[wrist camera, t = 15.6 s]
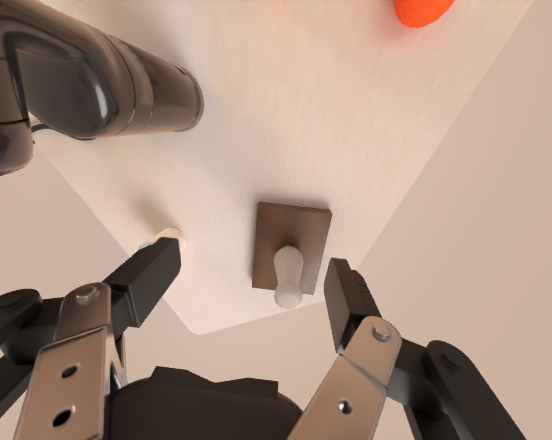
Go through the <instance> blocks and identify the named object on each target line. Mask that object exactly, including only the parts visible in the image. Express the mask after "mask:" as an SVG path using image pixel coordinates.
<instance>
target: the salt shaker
mask: <svg viewBox="0 0 552 440" xmlns="http://www.w3.org/2000/svg"><path fill="white" fill-rule="evenodd" d="M303 262H304V261H303V257H302V254H301V253H300V252H299V251H298V250H297V249H296V248H295V247H292V246H287V245H286V246H285V247H283V248H281V249H280V250H279V251H278V252H277V253H276V254H275V257H274V265H275V270H276V275H277V281H278V286H277V287H276V290H275V294H274V297H275V301H276V303H277V304H278V305H279V306H280V307H282V308H284V309H292V308H296V307H297V306H298V305H299V304H300V303H301V300H302V293H301V289H300V287H299V282H300V277H301V272H302V267H303Z"/></svg>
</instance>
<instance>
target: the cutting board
mask: <svg viewBox="0 0 552 440" xmlns="http://www.w3.org/2000/svg"><path fill="white" fill-rule="evenodd" d="M331 218H332V213H331V211H330V210H323V209H315V208H306V207H298V206H289V205H281V204H273V203H264V202H259V204H258V211H257V224H256V238H255V251H254V265H253V279H252V287H253V288H261V289H269V290H276V287H277V286H278V281H277V275H276V270H275V265H274V257H275V254H276V253H277V252H278V251H279V250H280V249H281V248H283V247H285V246H286V245H287V246H292V247H295V248H296V249H297V250H298V251H299V252H300V253H301V254H302V257H303V261H304V262H303V267H302V272H301V277H300V282H299V287H300V289H301V293H302V294H310V295H313V294H314V290H315V285H316V281H317V277H318V273H319V268H320V264H321V260H322V256H323V251H324V247H325V243H326V239H327V235H328V230H329V226H330V222H331Z"/></svg>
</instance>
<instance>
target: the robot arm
mask: <svg viewBox="0 0 552 440" xmlns="http://www.w3.org/2000/svg"><path fill="white" fill-rule="evenodd" d="M169 62H170V61H169ZM171 63H172V62H171ZM172 64H174V63H172ZM172 64H170V63H168V62H166V61H164V60H162V59H160V58H158V57H156V56H153V55H151V54H149V53H147V52H145V51H143V50H141V49H139V48H137V47H134V46H132V45H130V44H128V43H126V42H124V41H122V40H120V39H118V38H115V37H113V36H111V35H109V34H107V33H105V32H102V31H100V30H98V29H96V28H94V27H92V26H90V25H88V24H86V23H84V22H82V21H80V20H77V19H75V18H73V17H71V16H69V15H66V14H64V13H62V12H60V11H58V10H56V9H54V8H52V7H50V6H47V5H45V4H43V3H41V2H39V1H37V0H0V176H2V175H5V174H8V173H12V172H14V171H18V170H20V169H22V168H23V167H25V166H26V165H27V164H28V163H29V162H30V161H31V159H32V157H33V144H35V142H34V140H33V139H32V133H33V132H35V131H37V130H40V129H53V130H56V131H58V132H60V133H62V134H65V135H67V136H70V137H72V138H75V139H78V140H84V141H86V140H93V139H96V138H103V137H114V136H125V135H134V134H146V133H157V132H168V131H185V130H189V129H191V128H192V127H194V126H195V125H196V124H197V123H198V122H199V120H200V118H201V116H202V113H203V96H202V92H201V89H200V87H199V85H198V83H197V82H196V80H195V79H194V78H193V77H192V76H191V75H190V74H189V73H188V72H187V71H185V70H184V69H182V68H180V67H178V66H177V65H175V64H174V65H172ZM28 111H29V112H30V113H31V114H32V115H34V116H35V117H36V118H37V119H38V120H40V121H41V122H42V123H44V124H39V125H35V126H32V127H31V126H30V119H29V117H28ZM180 268H181V258H180V248H179V241H178V239H177V238H169V237H160V238H159V239H158V240H157V241H156V242H155V243H153V244H152V245H148V246H146V247H144V248H142V249H140V250H138V251H137V252H136V253H135V254H134V255H132V257H131V258H129V259H128V260H127V261H125V263H123V264H122V265H121V266H120V267H119V268H117V269H116V270H115V271H114V272H113V273H111V274H110V275H109V276H108V277H107V278H106V279H104V280H103V281H102V282H97V283H90V284H86V285H83V286H81V287H78V288H76V289H75V290H73V291H71V292H70V293H69V294H67V295H66V296H65V297H61V298H51V299H43V300H42V298H41V296H40V294H39V292H38V291H37V290H35V289H21V290H16V291H12V292H9V293H6V294H3V295H1V296H0V349H1V350H2V352H3V353H4V356H3V357H1V358H0V418H1V416H3V415H4V413H5V412H6V411H7V410H8V409H9V408H10V407H11V406H12V405H13V404H14V403H15V402H16V400H17V399H18V398H19V397H20V396H21V395H22V394H23V393H24V392H25V391H26V389H27V392H26V396H25V399H24V403H23V406H22V410H21V413H20V416H19V420H18V423H17V427H16V430H15V434H14V437H13V440H373V437H374V434H375V431H376V427H377V425H378V422H379V418H380V415H381V412H382V409H383V406H384V403H385V400H386V397H389V398H391V399H393V400H395V401H397V402H400V403H401V404H403V407H404V410H405V413H406V416H407V419H408V422H409V425H410V428H411V430H412V433H413V436H414V439H415V440H526V438H525V437H524V435H523V434H522V432H521V431H520V430H519V428H518V427H517V425H516V424H515V422H514V421H513V420H512V418H511V417H510V415H509V414H508V412H507V411H506V410H505V408H504V407H503V405H502V404H501V403H500V401H499V400H498V398H497V397H496V395H495V394H494V392H493V391H492V390H491V388H490V387H489V385H488V384H487V382H486V381H485V380H484V378H483V377H482V375H481V374H480V372H479V371H478V370H477V368H476V367H475V365H474V364H473V363H472V361H471V360H470V359H469V358H468V357H467V356H466V355H465V354H464V353H463V352H462V351H460V350H459V349H458V348H456V347H454V346H453V345H451V344H449V343H446V342H444V341H439V340H433V341H431V342H429V344H428V345H427V347H423V346H421V345H419V344H416V343H413V342H411V341H408V340H406V339H404V338H402V337H401V335H400V333H399V332H398V330H397V329H396V328H395V327H394V326H393V325H392V324H391V323H389V322H388V321H386V320H384V319H382V317H381V314H380V312H379V310H378V308H377V306H376V304H375V301H374V299H373V298H372V295H371V294H370V291H369V289H368V287H367V284H366V282H365V280H364V278H363V277H362V276H361V275H360V274H359V273H358V272H357V271H356V270H351V269H350V266H349V264H348V261H347V260H346V259H339V258H331V259H330V262H329V266H328V270H327V274H326V277H325V282H324V295H325V300H326V305H327V309H328V315H329V320H330V325H331V330H332V335H333V340H334V345H335V350H336V353H338V354H339V356H338V357H337V359H336V360H335V362H334V363H333V365H332V367H331V368H330V370H329V371H328V373H327V375H326V377H325V378H324V380H323V381H322V383H321V384H320V386H319V388H318V389H317V391H316V393H315V394H314V396H313V397H312V399H311V401H310V402H309V404H308V406H307V407H306V409H305V410H304V412H303V411H302V410H301V409H300V407H298V405H297V404H295V403H294V402H293V401H292V400H291V399H289V398H288V397H286V396H284V395H283V394H281V393H278V382H277V381H270V380H262V379H254V378H243V379H237V380H231V381H224V382H218V383H215V382H211V381H209V380H207V379H205V378H203V377H200V376H198V375H196V374H194V373H192V372H190V371H188V370H183V369H175V368H168V367H160V366H156V368H155V369H154V371H153V373H152V375H151V377H148V378H144V379H140V380H137V381H134V382H132V383H129V384H128V383H127V376H126V359H125V338H124V333H123V332H124V331H125V330H126V328H127V327H128V326H129V327H137V328H139V327H140V326H141V324H142V323H143V322H144V320H145V319H146V318H147V316H148V315H149V314H150V312H151V311H152V310H153V308H154V307H155V305H156V304H157V302H158V301H159V300H160V299H161V297H162V296H163V294H164V293H165V292H166V290H167V289H168V288H169V286H170V285H171V283H172V282H173V281H174V279H175V278H176V277H177V275H178V273H179V271H180Z"/></svg>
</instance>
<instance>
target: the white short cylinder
mask: <svg viewBox="0 0 552 440" xmlns="http://www.w3.org/2000/svg"><path fill="white" fill-rule="evenodd" d="M160 237H169V238H177V239H178V241H179V248H180V254H181V252H182V250H183V249H184V247H185V245H186V238H185V236H184V234H183V233H182V232H181V231H179V230H177V229H175V228H167V229H165V230H163V231H162V232H160V233H159V234H157V235H155V236H154V237H152V238H151V239H149V240H148V241H146V242H145V243H143V244H142V245H141V246H140V247H139V250H140V249H142V248H144V247H146V246H148V245H152V244H153V243H155V242H156V241H157V240H158V239H159V238H160Z"/></svg>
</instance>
